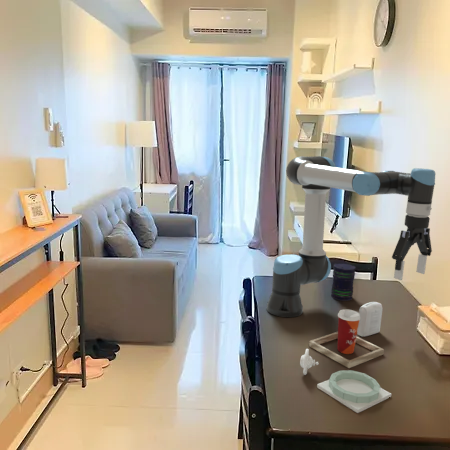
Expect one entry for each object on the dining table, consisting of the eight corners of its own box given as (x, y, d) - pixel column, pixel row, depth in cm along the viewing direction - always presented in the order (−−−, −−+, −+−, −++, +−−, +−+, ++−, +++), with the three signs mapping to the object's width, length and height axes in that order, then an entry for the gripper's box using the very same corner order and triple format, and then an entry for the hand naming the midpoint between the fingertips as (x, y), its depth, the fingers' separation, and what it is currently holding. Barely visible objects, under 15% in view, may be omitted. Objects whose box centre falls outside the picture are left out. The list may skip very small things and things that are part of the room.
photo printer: (372, 328, 181) (375, 298, 178) (381, 332, 177) (385, 302, 175) (354, 333, 175) (357, 303, 173) (363, 338, 172) (367, 307, 169)
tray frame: (308, 346, 163) (309, 340, 163) (342, 334, 174) (343, 329, 173) (349, 368, 149) (349, 362, 149) (383, 354, 159) (383, 349, 159)
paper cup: (353, 357, 156) (357, 319, 153) (331, 351, 160) (334, 313, 157) (359, 349, 163) (363, 312, 160) (338, 343, 167) (342, 306, 164)
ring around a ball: (300, 366, 149) (302, 343, 147) (318, 369, 148) (320, 346, 146) (298, 378, 141) (300, 354, 140) (316, 381, 140) (319, 357, 139)
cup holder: (316, 387, 137) (317, 378, 136) (350, 373, 146) (350, 365, 145) (357, 413, 125) (358, 403, 125) (391, 396, 134) (392, 387, 133)
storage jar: (335, 291, 221) (338, 261, 218) (355, 296, 215) (358, 266, 212) (327, 297, 213) (330, 266, 210) (347, 302, 208) (350, 270, 204)
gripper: (406, 220, 143) (398, 285, 148) (448, 214, 158) (439, 273, 162) (385, 216, 149) (378, 278, 154) (427, 210, 164) (419, 267, 168)
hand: (409, 276), depth 158 cm, fingers open, 13 cm apart
